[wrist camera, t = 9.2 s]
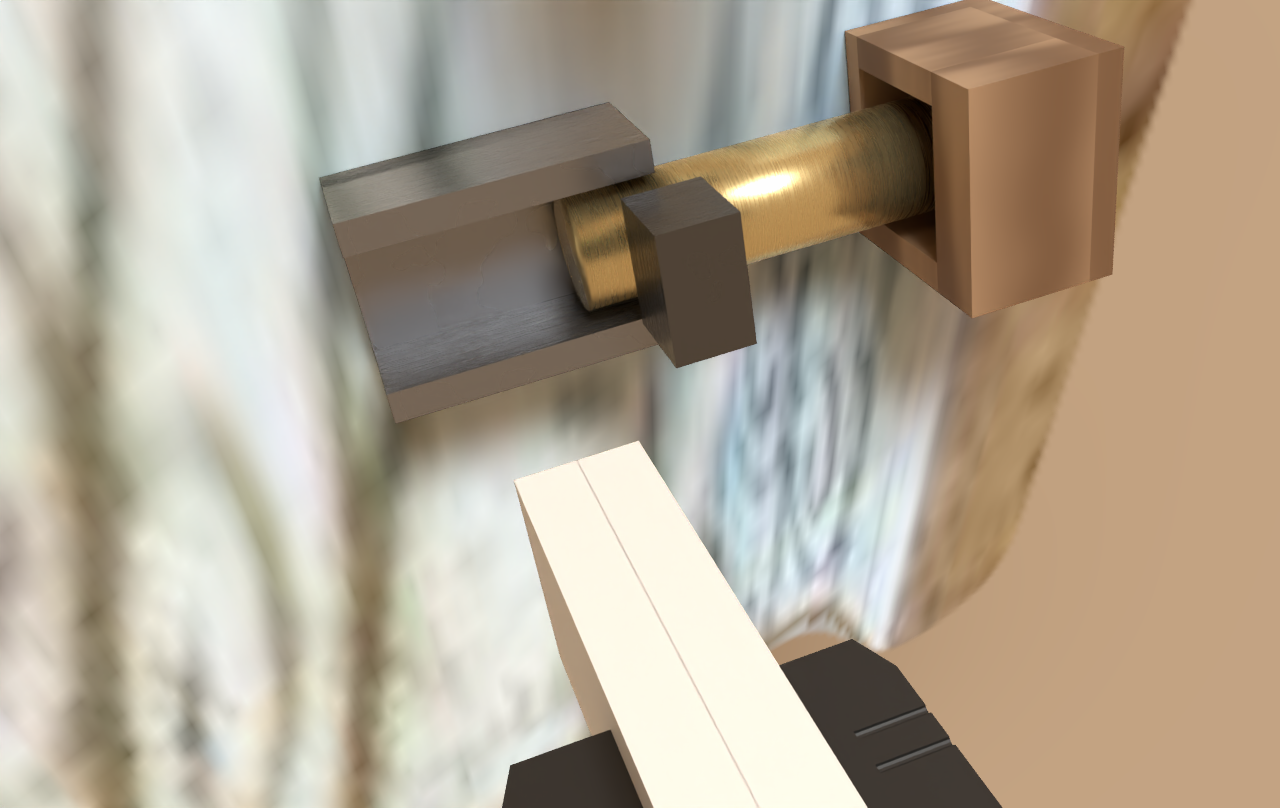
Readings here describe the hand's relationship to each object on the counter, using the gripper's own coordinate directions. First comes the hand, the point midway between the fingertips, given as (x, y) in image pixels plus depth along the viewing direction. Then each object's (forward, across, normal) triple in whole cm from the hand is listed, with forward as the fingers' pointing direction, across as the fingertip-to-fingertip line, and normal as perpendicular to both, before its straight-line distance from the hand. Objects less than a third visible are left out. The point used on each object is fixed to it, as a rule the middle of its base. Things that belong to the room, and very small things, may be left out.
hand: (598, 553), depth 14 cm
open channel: (+24, +2, -6) cm, 25 cm away
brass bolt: (+23, +11, -6) cm, 26 cm away
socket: (+24, +17, -6) cm, 30 cm away
